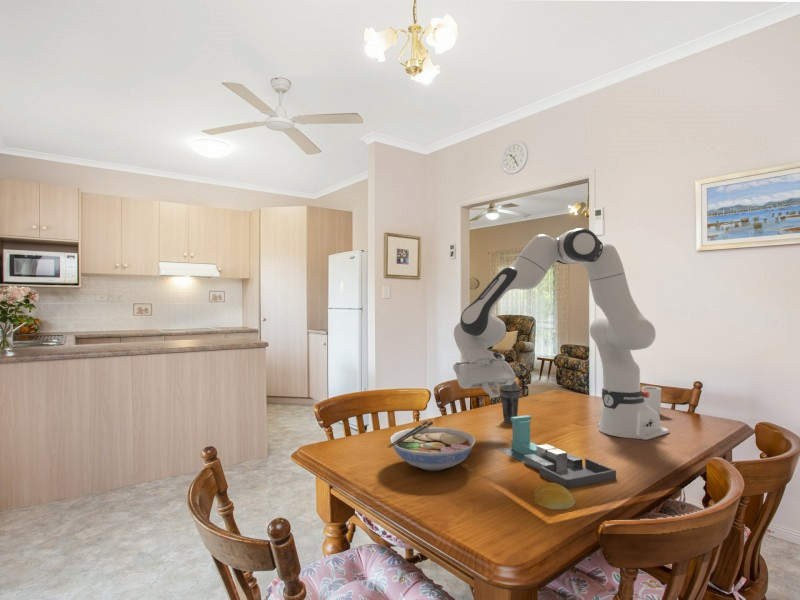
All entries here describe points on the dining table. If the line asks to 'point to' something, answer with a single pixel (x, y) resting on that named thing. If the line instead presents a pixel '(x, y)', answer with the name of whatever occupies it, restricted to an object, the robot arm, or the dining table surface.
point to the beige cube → (543, 450)
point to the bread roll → (553, 496)
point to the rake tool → (522, 436)
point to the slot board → (542, 460)
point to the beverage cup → (510, 400)
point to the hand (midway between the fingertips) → (495, 396)
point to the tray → (580, 475)
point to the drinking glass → (653, 398)
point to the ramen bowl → (432, 446)
